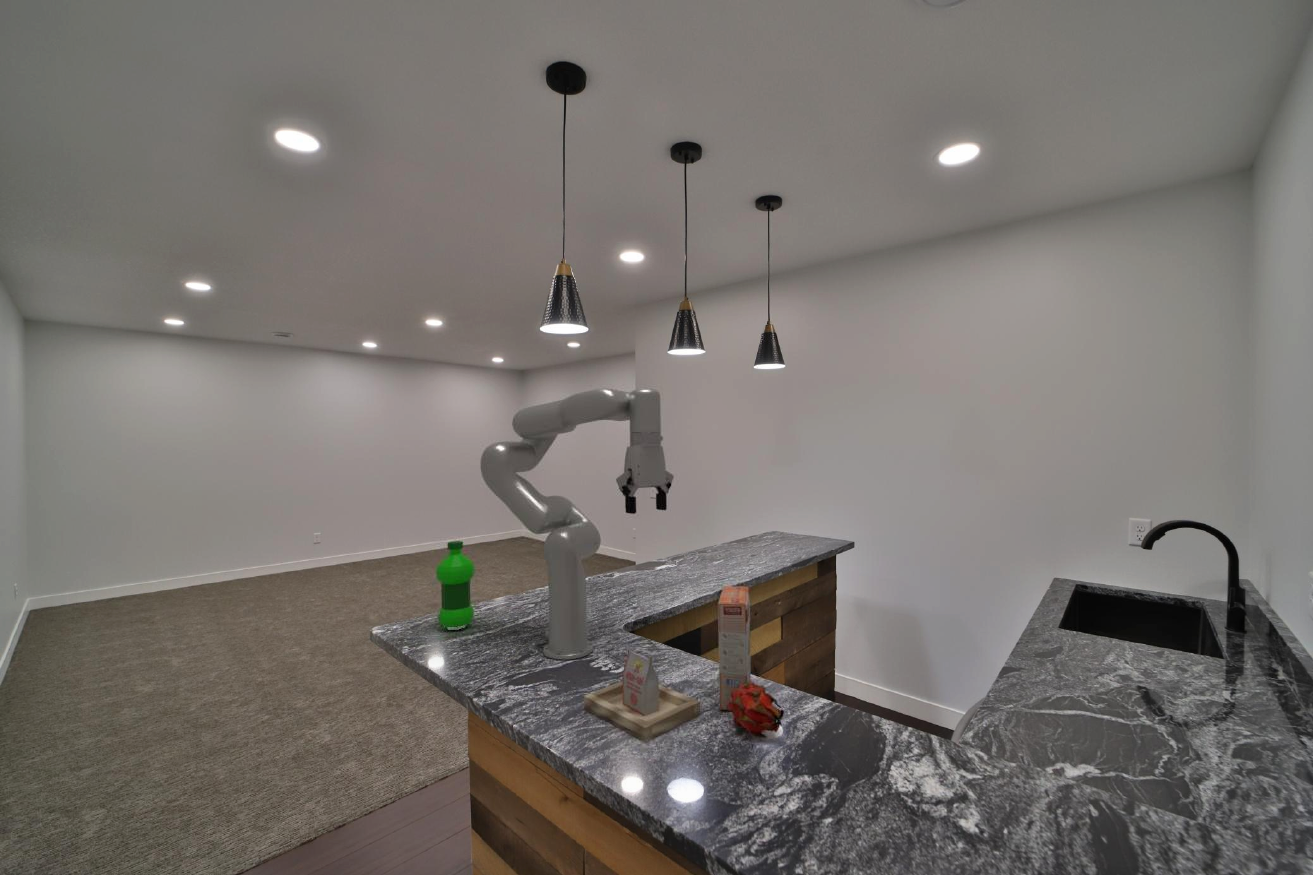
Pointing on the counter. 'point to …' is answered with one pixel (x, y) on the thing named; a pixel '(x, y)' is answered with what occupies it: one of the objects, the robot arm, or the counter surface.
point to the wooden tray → (645, 728)
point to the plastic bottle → (455, 587)
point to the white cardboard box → (640, 685)
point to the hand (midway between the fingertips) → (646, 511)
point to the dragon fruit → (754, 709)
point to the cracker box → (733, 641)
